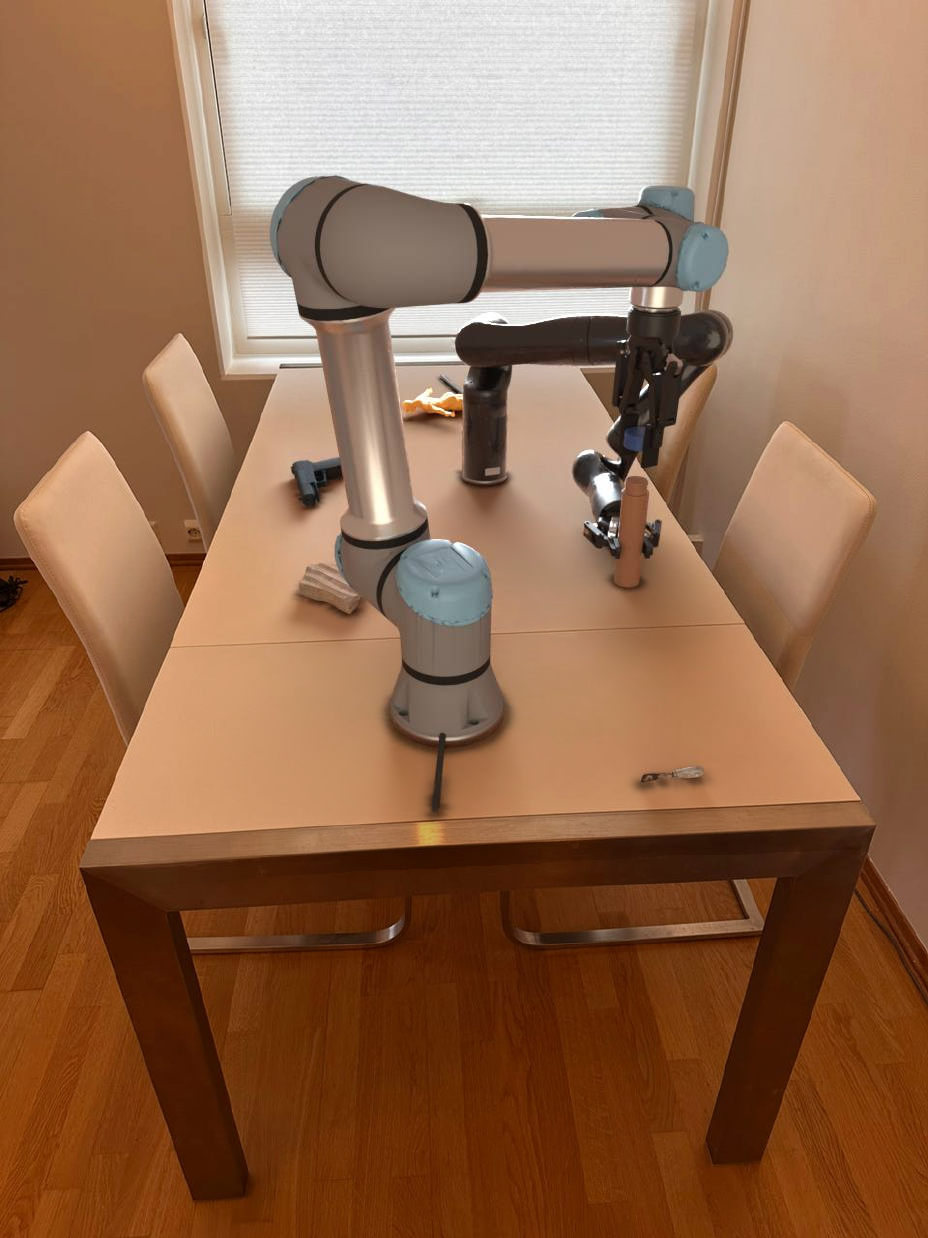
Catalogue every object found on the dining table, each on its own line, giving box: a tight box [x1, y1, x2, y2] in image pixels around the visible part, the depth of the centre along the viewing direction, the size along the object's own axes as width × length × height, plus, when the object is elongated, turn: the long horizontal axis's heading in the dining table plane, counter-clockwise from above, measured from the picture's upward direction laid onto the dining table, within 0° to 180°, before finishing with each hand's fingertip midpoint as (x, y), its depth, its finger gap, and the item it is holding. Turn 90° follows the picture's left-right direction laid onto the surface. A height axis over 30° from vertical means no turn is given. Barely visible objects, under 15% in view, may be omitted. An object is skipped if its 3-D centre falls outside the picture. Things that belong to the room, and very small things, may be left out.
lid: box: [623, 427, 645, 452], centre depth 138 cm, size 5×5×2 cm
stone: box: [297, 562, 363, 615], centre depth 148 cm, size 13×12×2 cm
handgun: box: [290, 456, 343, 507], centre depth 184 cm, size 3×18×12 cm
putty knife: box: [640, 765, 705, 784], centre depth 109 cm, size 1×8×2 cm, turn 103°
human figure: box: [401, 385, 462, 418], centre depth 225 cm, size 20×20×4 cm
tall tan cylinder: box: [613, 475, 650, 588], centre depth 146 cm, size 4×4×18 cm
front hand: (637, 460), depth 139 cm, fingers closed on lid, 5 cm apart
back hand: (633, 553), depth 145 cm, fingers closed on tall tan cylinder, 4 cm apart
